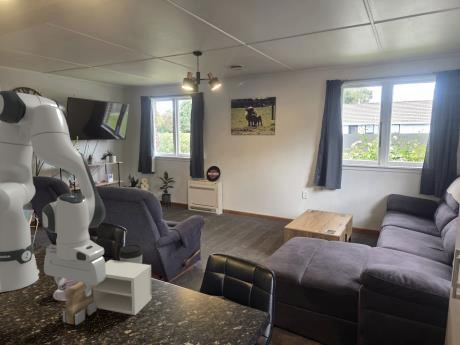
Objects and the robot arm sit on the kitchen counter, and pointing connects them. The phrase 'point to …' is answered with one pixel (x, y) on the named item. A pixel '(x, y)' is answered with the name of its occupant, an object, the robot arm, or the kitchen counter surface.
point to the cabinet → (120, 289)
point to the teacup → (61, 294)
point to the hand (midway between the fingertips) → (74, 292)
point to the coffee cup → (131, 254)
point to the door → (76, 301)
